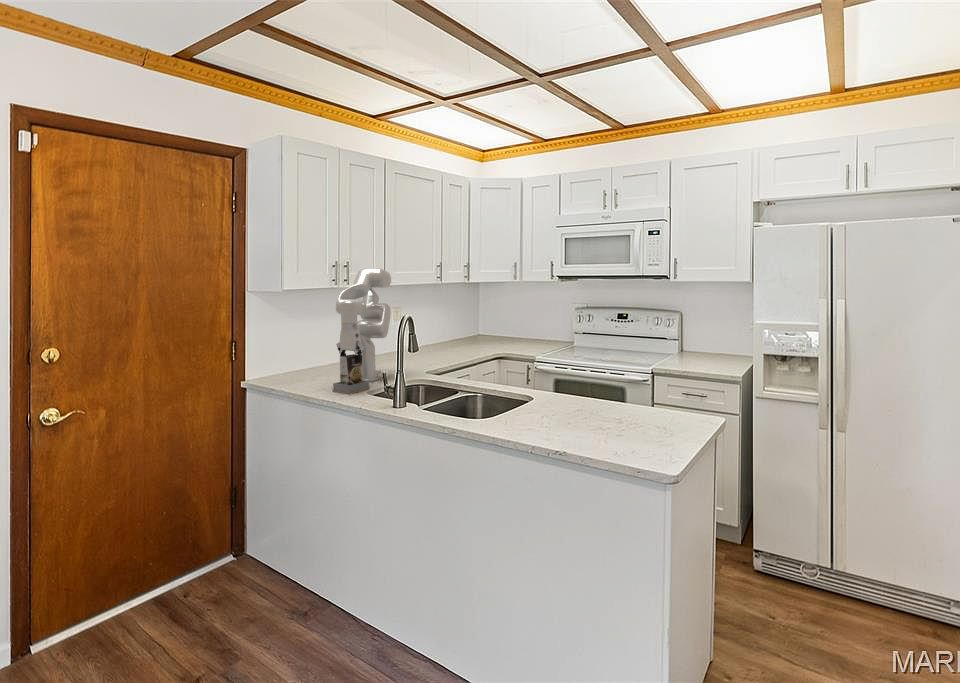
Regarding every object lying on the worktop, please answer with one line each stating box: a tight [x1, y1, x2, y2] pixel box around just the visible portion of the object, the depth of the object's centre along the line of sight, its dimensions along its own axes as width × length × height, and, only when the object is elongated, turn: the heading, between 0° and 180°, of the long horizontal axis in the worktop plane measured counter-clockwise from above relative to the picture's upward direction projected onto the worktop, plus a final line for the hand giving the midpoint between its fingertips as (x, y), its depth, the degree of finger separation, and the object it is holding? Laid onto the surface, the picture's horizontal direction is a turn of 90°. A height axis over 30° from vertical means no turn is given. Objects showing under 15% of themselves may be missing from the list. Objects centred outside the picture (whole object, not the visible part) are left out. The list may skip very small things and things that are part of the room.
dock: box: [332, 380, 371, 395], centre depth 273 cm, size 14×11×4 cm
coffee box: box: [339, 353, 363, 385], centre depth 272 cm, size 9×6×16 cm
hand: (350, 362), depth 271 cm, fingers open, 9 cm apart
